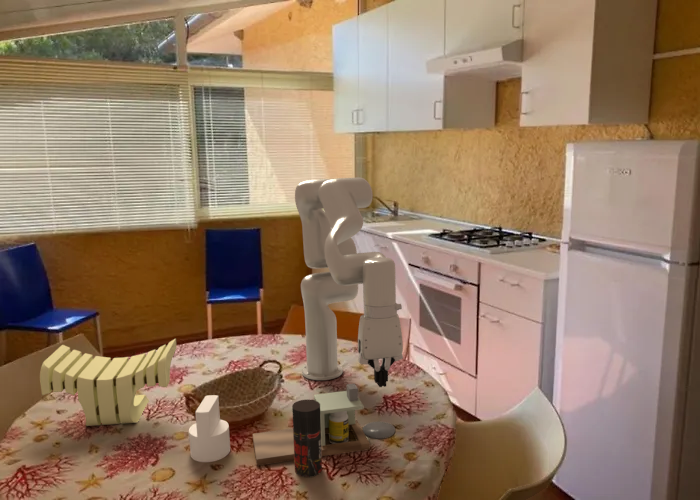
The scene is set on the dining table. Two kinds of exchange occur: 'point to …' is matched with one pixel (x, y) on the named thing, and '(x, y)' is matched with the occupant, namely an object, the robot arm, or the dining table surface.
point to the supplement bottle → (338, 427)
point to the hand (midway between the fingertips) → (381, 384)
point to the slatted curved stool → (107, 381)
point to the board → (281, 445)
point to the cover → (338, 406)
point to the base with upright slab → (209, 432)
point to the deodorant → (307, 438)
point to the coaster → (379, 430)
